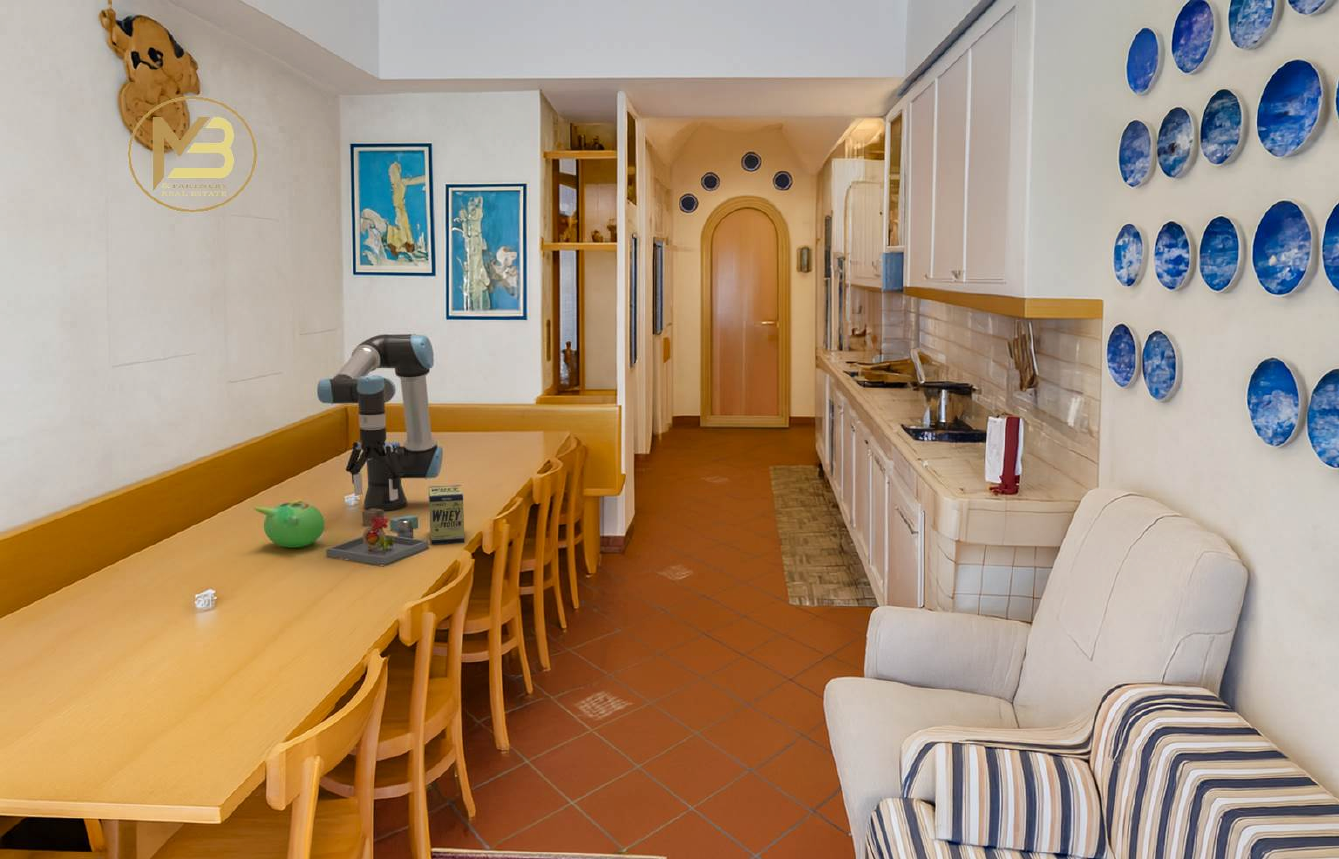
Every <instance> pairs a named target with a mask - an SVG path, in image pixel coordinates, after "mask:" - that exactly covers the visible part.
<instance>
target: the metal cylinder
mask: <svg viewBox="0 0 1339 859" xmlns="http://www.w3.org/2000/svg"><path fill="white" fill-rule="evenodd" d="M396 536H399V537H406V538H414V539H415V537H414V529H413V519H399V520H397V532H396Z"/></svg>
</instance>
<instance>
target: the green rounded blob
mask: <svg viewBox="0 0 1339 859" xmlns="http://www.w3.org/2000/svg"><path fill="white" fill-rule="evenodd" d="M253 509H254V510H255V511H256V512H258V513H260V514H262V515H265V518H264V521H263V530H264V533H265V535H266V536H267V538H268V539H269V540H270V541H271V542H272V543H273V544H276V545H277V546H280V547H283V548H284V547H285V548H288V549H291V548H293V549H295V548H303V547H306V546H309V545H312V544H313V543H314V542H316V541H317V540H319V538H320V537H321V536H322V535H323V532H324V530H325V519H324V516H323V514H322V512H320V510H319V509H318V508H317V507H315V506H314V505H312V504H310V503H307V502H303V498H301V497H300V498H296V499H294V500H292V501H289V502H284V503H281V504H278V505H277V506H275V507H267V506H266V507H265V506H255V507H254V508H253Z"/></svg>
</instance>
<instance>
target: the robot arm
mask: <svg viewBox="0 0 1339 859" xmlns="http://www.w3.org/2000/svg"><path fill="white" fill-rule="evenodd" d="M434 356H435V355H434V349H433V345H432V342H431V340H430V339H429V337H428V336H426V335H424V334H416V333H411V334H385V333H384V334H378V335H375V336H372V337H370V338H367V339H366V340H364V341H362V342H360V343H359V344H358V345H357V346H356V347H355V348H354V349H353V350H352V352H351V356H350V358H349V359H348V361H347V362H346V363H344V365H343V366H342V367H341V369H340V370H339V371H338V372H337V373H336V374H335V376H333V378H322V379H320V380H319V381H318V383H317V388H316V392H317V398H318V400H319V401H320V402H321V403H323V404H331V405H333V404H337V405H338V404H344V405H345V404H358V405H357V406H358V423H359V428H360V429H359V440H360V441H356V442H353V443H352V451H351V454H350V457H349V459H348V462H347V464H346V466H345V467H346V468H345V471H346V472H349V473H350V474H351V483H352V485H353V494H354V495H353V496H355V497H358V496H360V495H363V476H362V472H361V470H362V468H363V467H364V466H365V465H366V470H367V488H366V489H367V490H366V493H365V495H364V496H365V497H364V500H363V508H364V510H369V509H372V508H373V509H381V510H384V512H385V511H387V512H388V511H396V510H401V509H403V508H406V507H408V500H407V496H406V494H405V492H404V489H403V486H402V485H403V484H402V479H425V480H427V479H435V478H437V477H439V475H440V473H441V469H442V464H443V458H444V457H443V453H444V452H443V451H444V450H443V446H441V445H438V444H437V440H436V439H435V438H434V437H433V436H432V427H431V419H430V418H431V417H430V407H429V406H430V405H429V397H428V396H429V395H428V386H427V385H428V384H427V376H428V374H430V369H432V368H433V367H434V362H435V358H434ZM377 369H394V374H395V376H396V377H398V378H399V379H400V386H401V395H402V403H403V404H402V405H403V412H404V413H403V414H404V423H405V424H404V425H405V430H406V440H405V441H404V442H403V446H401V443H400V442H399V441H389V442H388V441H387V442H386V440H387V429H386V428H385V427H386V426H387V422H386V421H387V420H386V404H385V403H388V402H390V401H391V400H392V399H393V398H394V397H395V395H396V386H395V383H394V382H393V381H392V380H391V379H389V378H386V377H383V376H381V375H376V374H375V375H369V374H370V373H371V372H374V371H376V370H377ZM361 452H362V453H361Z"/></svg>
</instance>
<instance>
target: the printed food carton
mask: <svg viewBox="0 0 1339 859" xmlns="http://www.w3.org/2000/svg"><path fill="white" fill-rule="evenodd" d="M371 521H372V522H373V524H374V526H370V527H367V528H365V529H364V531H363V532H362V533H363V534H362V536H363V542H364V544H365V545H366V546H367V548H368V550H369V551H371V550H372V549H379V548H380V547H383V550H382V551H383V552H385V551H386V548H387V546H388V544H389V545H390V546H393V542H394V538H387V539H386V535H387V534H386V533H385V530H384V529H386V528H388V524H387V523H388V521H389V518H388V517H387V518H385V517H384V519H380V518H378V517H372V518H371ZM383 528H384V529H383ZM377 533H378V534H379V535H378V534H377ZM379 536H380V539H379ZM378 541H379V542H378ZM377 542H378V544H376V543H377Z"/></svg>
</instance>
